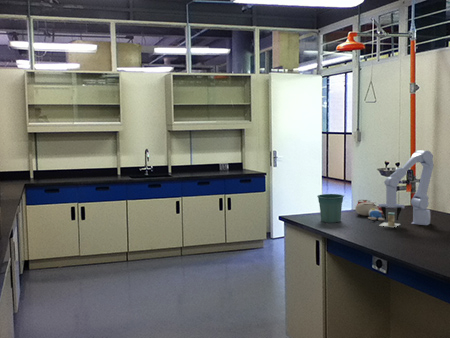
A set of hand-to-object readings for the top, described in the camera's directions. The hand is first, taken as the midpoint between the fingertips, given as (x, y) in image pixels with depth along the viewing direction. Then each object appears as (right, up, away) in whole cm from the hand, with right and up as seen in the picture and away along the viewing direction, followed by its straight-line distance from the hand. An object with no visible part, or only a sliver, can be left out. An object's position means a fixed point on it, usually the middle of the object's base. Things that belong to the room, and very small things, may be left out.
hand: (391, 219), depth 300 cm
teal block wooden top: (0, -3, 0) cm, 3 cm away
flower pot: (-32, -3, +19) cm, 37 cm away
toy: (-4, -2, +28) cm, 28 cm away
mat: (-1, -3, +1) cm, 4 cm away
